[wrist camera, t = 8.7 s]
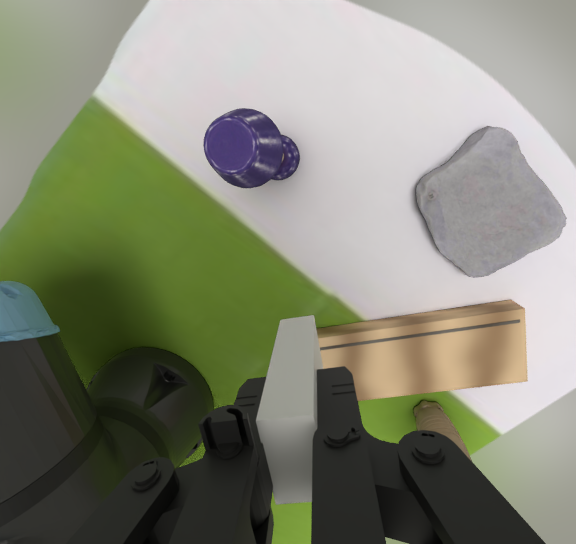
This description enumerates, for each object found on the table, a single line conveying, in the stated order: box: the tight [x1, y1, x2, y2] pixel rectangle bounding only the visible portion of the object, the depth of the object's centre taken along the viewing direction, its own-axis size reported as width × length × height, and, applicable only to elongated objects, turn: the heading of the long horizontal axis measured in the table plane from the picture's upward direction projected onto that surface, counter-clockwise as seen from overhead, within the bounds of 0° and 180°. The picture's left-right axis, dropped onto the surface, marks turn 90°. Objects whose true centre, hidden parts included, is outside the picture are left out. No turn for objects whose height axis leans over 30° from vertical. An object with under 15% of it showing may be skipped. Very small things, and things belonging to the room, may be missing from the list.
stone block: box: [416, 126, 566, 277], centre depth 32 cm, size 12×5×10 cm
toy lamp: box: [204, 108, 300, 188], centre depth 25 cm, size 5×5×17 cm
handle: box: [414, 400, 472, 461], centre depth 32 cm, size 5×6×15 cm
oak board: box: [316, 300, 527, 401], centre depth 36 cm, size 22×8×3 cm, turn 102°
